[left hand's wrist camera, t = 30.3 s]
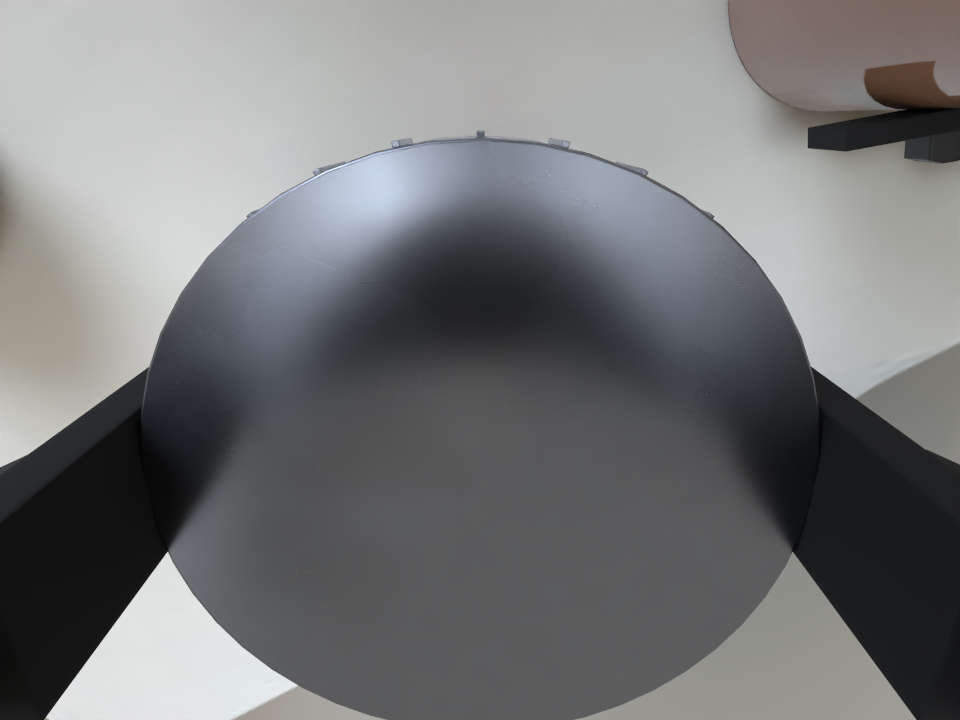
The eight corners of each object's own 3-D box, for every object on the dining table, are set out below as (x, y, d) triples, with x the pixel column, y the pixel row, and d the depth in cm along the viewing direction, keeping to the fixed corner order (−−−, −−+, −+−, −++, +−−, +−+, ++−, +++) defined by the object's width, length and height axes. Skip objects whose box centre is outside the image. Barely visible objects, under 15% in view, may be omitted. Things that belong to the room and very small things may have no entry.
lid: (80, 376, 12) (-15, 435, 10) (549, -24, 9) (570, -71, 7) (436, 706, 15) (428, 809, 13) (855, 471, 13) (936, 547, 10)
